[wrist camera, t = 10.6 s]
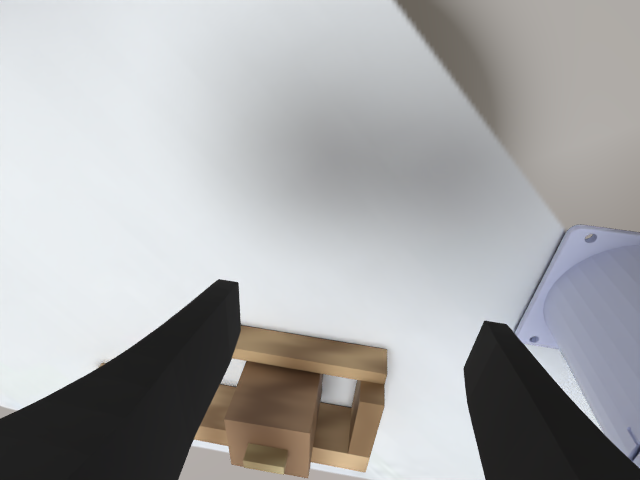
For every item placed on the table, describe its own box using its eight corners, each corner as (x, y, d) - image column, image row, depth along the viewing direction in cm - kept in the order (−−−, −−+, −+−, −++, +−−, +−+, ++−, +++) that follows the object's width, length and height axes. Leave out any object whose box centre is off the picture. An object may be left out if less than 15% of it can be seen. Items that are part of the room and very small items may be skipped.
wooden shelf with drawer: (386, 349, 25) (387, 395, 22) (367, 426, 29) (365, 472, 26) (78, 298, 26) (40, 334, 23) (107, 378, 31) (79, 417, 28)
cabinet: (324, 350, 26) (307, 451, 20) (321, 394, 28) (305, 495, 22) (254, 340, 26) (217, 436, 20) (258, 385, 29) (226, 481, 23)
